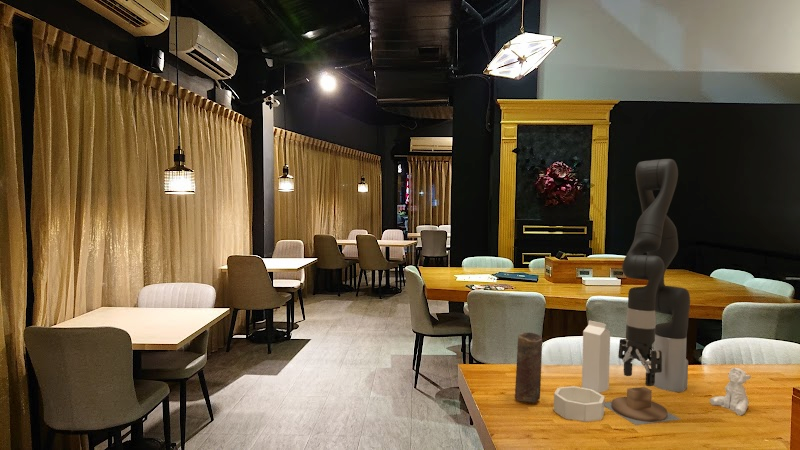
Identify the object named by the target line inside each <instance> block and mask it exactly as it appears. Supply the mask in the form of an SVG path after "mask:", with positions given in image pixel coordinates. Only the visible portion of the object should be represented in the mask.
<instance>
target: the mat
mask: <svg viewBox="0 0 800 450" xmlns="http://www.w3.org/2000/svg"><path fill="white" fill-rule="evenodd" d="M611 405H612V401H605V403H604V408H607V409H609V410H610V411H612V412H614V413H615V414H616V415H618V416H620V417H622V418H623V419H625V420H627V421H628V422H629V423H632V424H633V425H635V426H639V425H648V424H656V423H665V422H670V421H679V420H681V418H680V417H678V416H676V415H674V414H672V413H671V412H668V411H667V418H666V419H665V420H663V421H658V422H646V421H639V420H634V419H630V418H627V417H624V416H622V415H620V414H618V413H616V412H615V411H614V410H613V409H612V407H611Z"/></svg>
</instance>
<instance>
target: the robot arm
mask: <svg viewBox="0 0 800 450" xmlns="http://www.w3.org/2000/svg"><path fill="white" fill-rule="evenodd" d="M678 177H679V169H678V165H677V163H676V161H675V160H674V159H672V158H662V159H651V160H644V161H638V163H637V165H636V167H635V181H636V187H637V191H638V197H639V202H640V207H641V215H640V216H639V218H638V220H637V222H636V227H635V233H634V236H633V237H634V239H633V242H632V244H631V246H630V248H629V250H628V252H627V253H626V255H625V257H624V259H623V262H622V269H621V270H622V273H623V274H624V276H625V277H626V278H629V279H633V280H644V281H647V284H646V285H643V286H635V287H631V288H629V289H628V296H627V311H626V318H625V319H626V321H625V338H620V339H619V343H618V346H619V347H618V356H617V357H618V358H619V360H620V359H621V360H622V362H623V375H624V376H625V377H631V376H632V375H633V361H634V360H637V361H639V362H640V363H641V365H642V366H643V367H644V369H645V383H644V384H645V387H646V386H647V387H653V386H654V387H655V388H657V389H659V390H663V391H668V392H674V393H682V392H684V391H685V390H688V380H689V379H688V378H689V377H688V376H689V360H688V359H687V358H686V357H687V334H688V328H689V317H690V310H691V309H690V307H691V295H690V292H689V290H688V289H686V288H684V287H680V286H679V287H678V286H671V285H666V284H665V273H666V271H667V269H668V267H669V265H670V264H671V263H672V261H673V259H674V258H675V257H676V255H677V253H678V250H679V239H678V231H677V227H676V226H675V224H674V222H673V220H671V218H670V217H669V216H668V214H667V213H668V212H669V208H670V205H671V203H672V200H673V197H674V193H675V190H676V189H677V184H678ZM657 190H659V192H658V194H657V196H656V197H655V195H654V191H657ZM656 313H657V314H658V313H659V314H662V315H663V314H664V315H668V316H672V318H671V320H670V321H668V322H663V323H661V322H660V323H658V324H657V322H656V320H657V317H656Z"/></svg>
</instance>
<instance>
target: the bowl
mask: <svg viewBox="0 0 800 450" xmlns="http://www.w3.org/2000/svg"><path fill="white" fill-rule="evenodd" d="M553 394H554V395H553V411H554V412H555V413H556V414H557V415H559V416H560V417H562V418H563V419H566V420H570V421H573V420H575V421H579V422H593V421H594V422H595V421H601V420H603V417H604V414H605V406H604V403H605V402H606V400H605V397H606V396H605V395H603V394H601V393H598V392H596V391H594V390H592V389H587V388H582V386H581V387H580V386H574V385H572V386H562V387H561V386H560V387H557V388H556V390H555V391H554V393H553Z"/></svg>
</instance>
